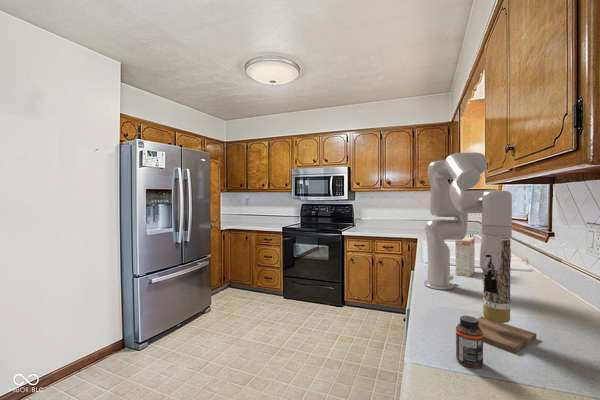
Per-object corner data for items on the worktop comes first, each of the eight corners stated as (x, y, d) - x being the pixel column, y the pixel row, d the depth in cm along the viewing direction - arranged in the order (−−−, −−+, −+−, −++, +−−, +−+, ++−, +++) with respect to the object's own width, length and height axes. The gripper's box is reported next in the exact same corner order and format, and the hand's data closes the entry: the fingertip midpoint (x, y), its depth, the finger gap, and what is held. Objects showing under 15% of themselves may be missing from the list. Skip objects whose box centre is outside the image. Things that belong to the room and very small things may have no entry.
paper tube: (499, 314, 91) (499, 235, 91) (516, 323, 85) (516, 238, 85) (478, 314, 91) (478, 235, 91) (493, 324, 84) (493, 238, 84)
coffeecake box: (461, 269, 168) (461, 236, 168) (475, 271, 163) (475, 237, 163) (454, 275, 157) (454, 239, 157) (469, 277, 152) (469, 240, 152)
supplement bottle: (459, 353, 78) (459, 311, 78) (485, 362, 74) (485, 317, 74) (453, 363, 73) (453, 318, 73) (480, 372, 69) (480, 325, 69)
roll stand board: (482, 320, 98) (482, 316, 98) (536, 338, 86) (536, 333, 86) (458, 332, 90) (458, 327, 90) (514, 353, 78) (514, 348, 78)
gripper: (496, 228, 96) (496, 282, 96) (468, 231, 86) (468, 291, 86) (523, 230, 89) (523, 288, 90) (497, 234, 80) (497, 299, 80)
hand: (496, 289), depth 88 cm, fingers closed on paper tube, 6 cm apart
